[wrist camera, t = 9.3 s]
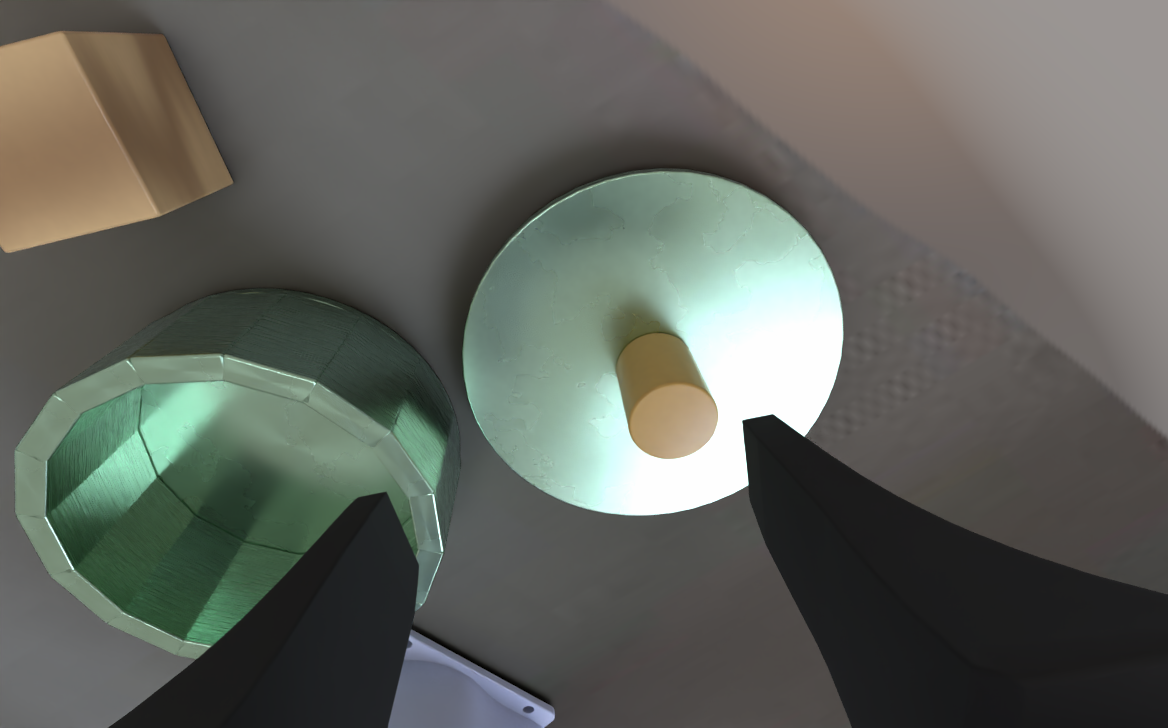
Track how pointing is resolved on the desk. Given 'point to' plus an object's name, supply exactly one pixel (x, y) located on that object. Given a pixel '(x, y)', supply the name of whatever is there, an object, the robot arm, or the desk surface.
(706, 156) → the desk surface
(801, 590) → the robot arm
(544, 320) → the tin lid
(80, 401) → the tin
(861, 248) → the desk surface
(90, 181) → the block
